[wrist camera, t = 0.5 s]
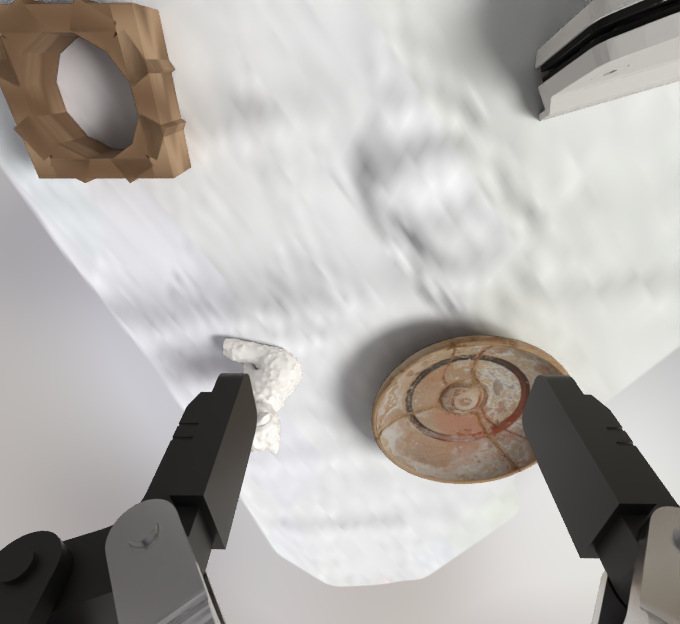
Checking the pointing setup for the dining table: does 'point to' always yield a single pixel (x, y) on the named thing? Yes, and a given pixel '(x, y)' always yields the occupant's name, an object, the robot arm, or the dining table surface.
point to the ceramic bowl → (460, 409)
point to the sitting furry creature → (266, 385)
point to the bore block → (47, 104)
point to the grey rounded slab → (610, 54)
